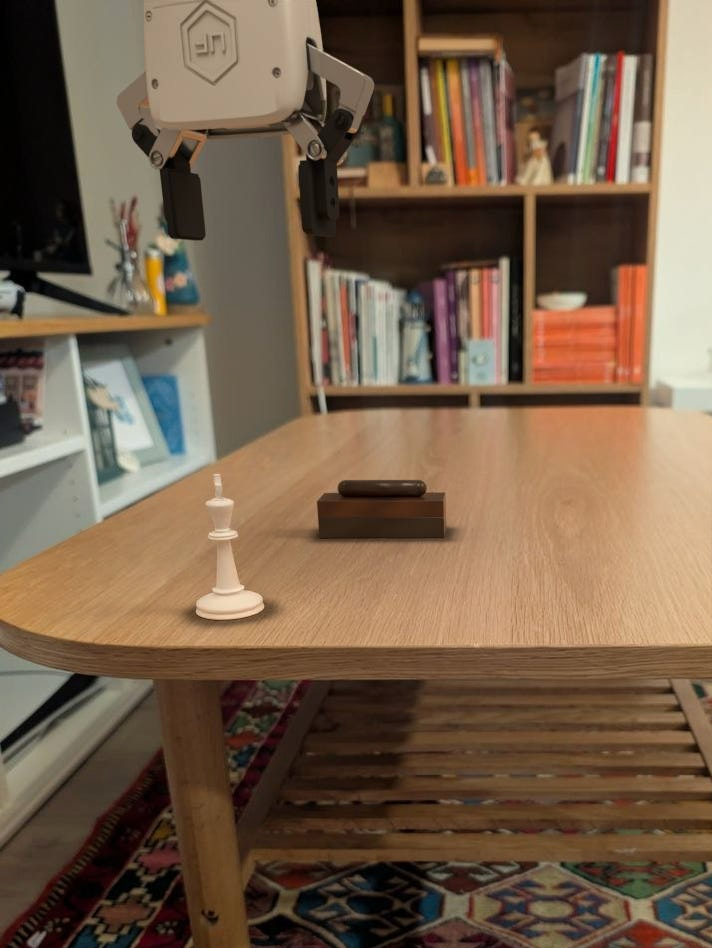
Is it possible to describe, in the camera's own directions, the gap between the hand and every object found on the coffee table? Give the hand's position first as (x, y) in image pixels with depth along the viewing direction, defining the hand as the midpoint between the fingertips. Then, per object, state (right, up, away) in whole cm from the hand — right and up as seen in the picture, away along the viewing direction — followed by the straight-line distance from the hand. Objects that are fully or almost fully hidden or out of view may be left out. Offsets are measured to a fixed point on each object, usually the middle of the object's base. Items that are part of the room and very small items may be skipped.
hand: (252, 237), depth 60 cm
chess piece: (-4, -24, +10) cm, 26 cm away
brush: (+5, -15, +32) cm, 36 cm away
